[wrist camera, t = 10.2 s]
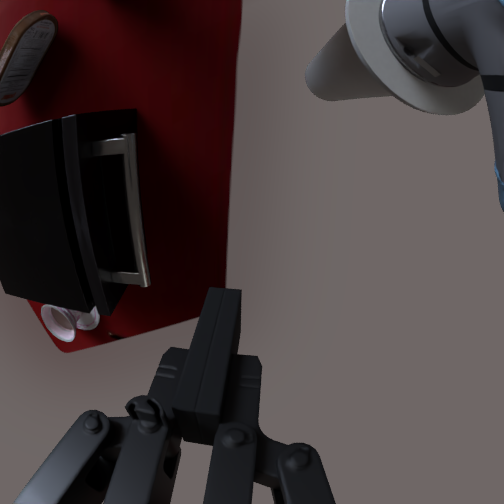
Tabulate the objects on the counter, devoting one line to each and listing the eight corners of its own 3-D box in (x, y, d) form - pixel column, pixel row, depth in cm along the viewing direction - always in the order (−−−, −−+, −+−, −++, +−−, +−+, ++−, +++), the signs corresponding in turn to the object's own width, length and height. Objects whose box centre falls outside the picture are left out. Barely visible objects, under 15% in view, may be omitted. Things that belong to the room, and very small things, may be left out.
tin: (59, 14, 22) (22, 5, 14) (70, 19, 23) (32, 11, 15) (14, 97, 28) (-23, 104, 20) (23, 105, 29) (-15, 113, 21)
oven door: (169, 105, 30) (120, 106, 18) (175, 254, 39) (146, 320, 27) (125, 109, 30) (61, 117, 18) (137, 253, 39) (98, 314, 27)
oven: (124, 109, 30) (51, 119, 18) (136, 252, 39) (89, 313, 27) (38, 126, 30) (-32, 147, 18) (56, 246, 40) (5, 293, 28)
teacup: (46, 269, 42) (27, 287, 37) (97, 287, 43) (79, 309, 38) (56, 317, 48) (41, 336, 43) (104, 335, 49) (90, 358, 43)
